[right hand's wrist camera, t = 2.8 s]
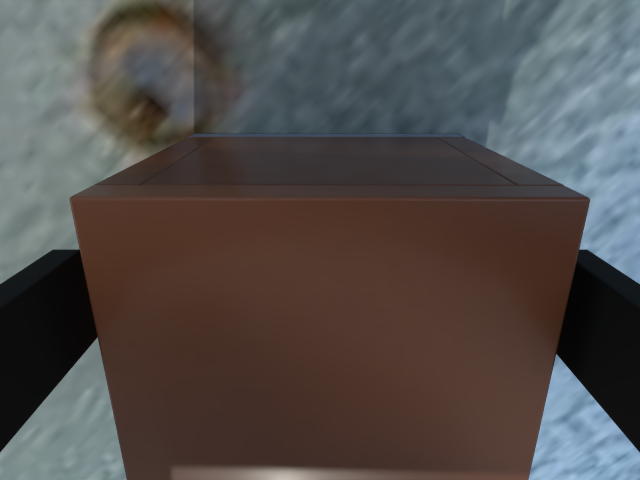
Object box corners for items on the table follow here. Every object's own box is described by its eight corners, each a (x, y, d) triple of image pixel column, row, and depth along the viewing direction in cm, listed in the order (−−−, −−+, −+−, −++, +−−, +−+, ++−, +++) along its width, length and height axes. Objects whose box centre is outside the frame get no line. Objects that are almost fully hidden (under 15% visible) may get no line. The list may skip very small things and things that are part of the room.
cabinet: (423, 457, 25) (483, 686, 15) (225, 456, 25) (167, 684, 16) (458, 133, 18) (592, 197, 9) (193, 133, 18) (66, 196, 9)
